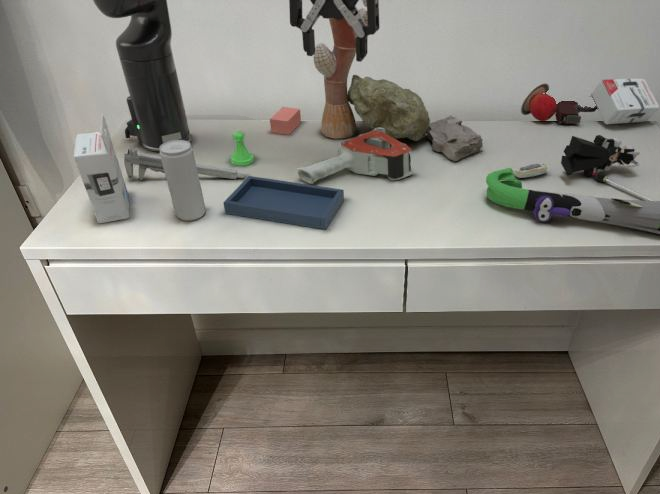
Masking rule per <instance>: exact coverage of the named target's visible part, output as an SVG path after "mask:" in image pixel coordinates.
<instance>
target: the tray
mask: <svg viewBox="0 0 660 494" xmlns="http://www.w3.org/2000/svg"><path fill="white" fill-rule="evenodd" d="M344 201H345V190H344V189H341V188H336V187H335V188H334V187H328V186H321V185H314V184H309V183H308V184H306V183H300V182H294V181H288V180H280V179H275V178H274V179H273V178H267V177H259V176H253V175H248V176H247V177H246V178H245V179H244V180H243V181H242V182H241V183H240V184H239V185H238V187H236V189H234V191H233V192H232V193H231V194H230V195H229V196H228V197H227V198H226V199H225V200H224V201H223V203H222V204H223V209H224V213H225V214H227V215H233V216H238V217H239V216H240V217H245V218H250V219H251V218H252V219H256V220H257V219H258V220H263V221H264V220H265V221H271V222H275V223H281V224H282V223H283V224H289V225H293V226H295V225H296V226H300V227H306V228H307V227H308V228H313V229H318V230H319V229H320V230H327V229H328V227H329V225H330V224H331V222H332V221H333V219H334V217H335V215H336V214H337V212H338V211H339V209H340V207H342V204H343V203H344Z"/></svg>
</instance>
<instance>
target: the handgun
mask: <svg viewBox="0 0 660 494" xmlns="http://www.w3.org/2000/svg"><path fill="white" fill-rule="evenodd" d="M597 110H598V108H597V106H595V107H594V108H591V107H587V106H585V107H584V108H583V107H581V106H580V105H578V103H577V102H575V101H561V102H559V103H558V104H557V110H556V112H555V113H557V114H554V115H555V116H554V117H555V120H556V122H557V124H558V125H561V124H563V125H576V124H580V123H581V119H582V116H581V115H580V114H579V113H594V112H596V111H597Z"/></svg>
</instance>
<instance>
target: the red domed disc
mask: <svg viewBox="0 0 660 494" xmlns="http://www.w3.org/2000/svg"><path fill="white" fill-rule="evenodd" d="M548 90H549V91H550V85H549V83H546V82H543V83H540V84H538V85H536V86H535V87H534V88H533V89H532V90H530V91H529V92H528V94H527V95H526V96H525V98H524V99H523V101H522V103H521V107H520V113H521V115H523V116H527V115H530V114H531V115H532V117H533V118H534V119H536V120H537V121H538V122H547V121H549V120H550V119H551V118H553V117H554V115H555V114H557V113H555V112H556V110H557V104H556V101H555V99H554V98H553V97H551V96H552V95H550V94H546V92H547V91H548ZM543 93H545V94H543Z"/></svg>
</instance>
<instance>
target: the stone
mask: <svg viewBox="0 0 660 494" xmlns="http://www.w3.org/2000/svg"><path fill="white" fill-rule="evenodd" d="M462 123H463V120H462V119H459V118H457V117H455V116H453V115H449V116H447V117H445V118H441V119H439V120H436V121H431V122H430V124H429V127H428V129H427V132H426V134H425V135H426V137H427V138H428V139H429V140H430V142H431V143H432V146H431V147H432V151H435V152H437V153H442V154H443V155H444V156H445V157H446V158H447V159H449V160H451V161H453V162H458V161H460V160H461V159H463V158H465V157H467V156H470V155H472V154H474V153H477V152H480V151H481V150H482V148H483V146H484V145H483V144H484V143H483V141H484V139H483V138H482V136H481V135H480V134H478V133H476V132H475V131H474V130H473V129H472V128H470V127H469V126H466V125H463V124H462Z"/></svg>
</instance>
